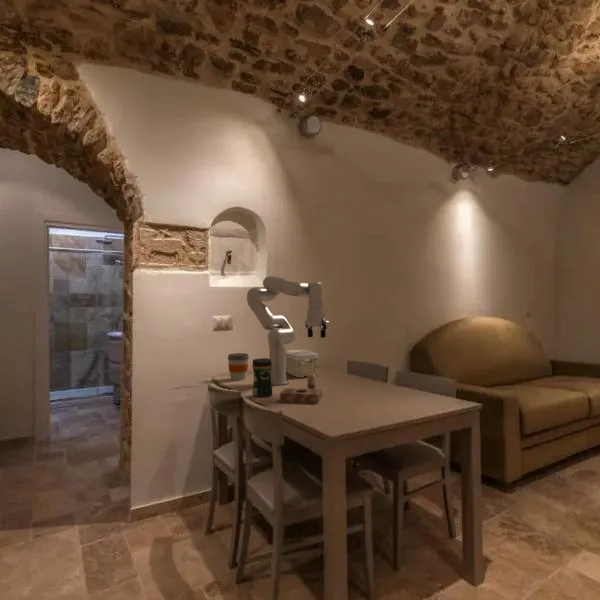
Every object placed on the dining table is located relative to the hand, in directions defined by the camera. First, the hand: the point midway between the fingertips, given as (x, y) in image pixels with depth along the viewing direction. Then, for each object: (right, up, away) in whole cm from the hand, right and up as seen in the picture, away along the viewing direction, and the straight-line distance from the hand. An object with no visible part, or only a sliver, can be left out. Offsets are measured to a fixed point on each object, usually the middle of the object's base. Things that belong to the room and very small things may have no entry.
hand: (316, 337), depth 230 cm
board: (-8, -28, -24) cm, 38 cm away
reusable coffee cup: (-47, -29, +32) cm, 63 cm away
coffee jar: (-28, -28, -14) cm, 42 cm away
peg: (-3, -28, -13) cm, 31 cm away
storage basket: (-9, -29, +48) cm, 57 cm away
